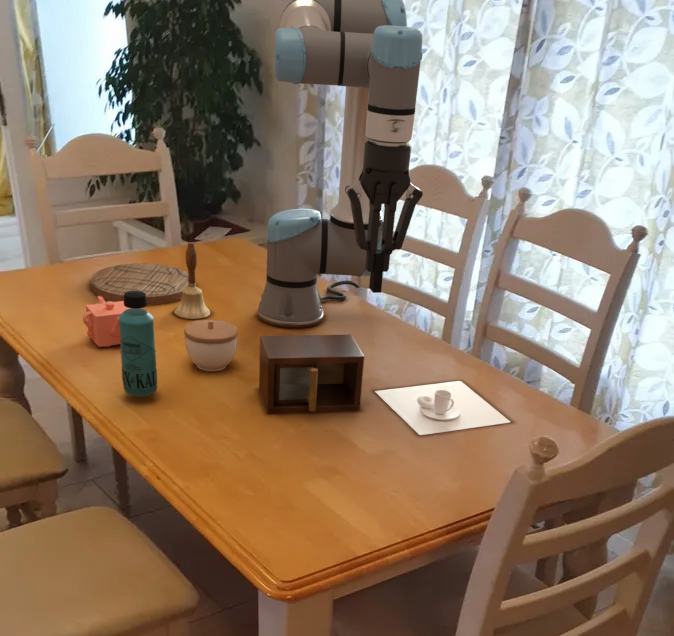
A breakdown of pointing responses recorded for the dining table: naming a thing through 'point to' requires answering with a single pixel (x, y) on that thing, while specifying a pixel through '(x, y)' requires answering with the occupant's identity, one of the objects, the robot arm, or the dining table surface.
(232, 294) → the dining table surface
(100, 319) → the teapot
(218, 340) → the trinket box
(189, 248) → the hand bell
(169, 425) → the dining table surface
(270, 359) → the cabinet
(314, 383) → the door
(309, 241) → the robot arm
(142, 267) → the trivet
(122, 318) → the beverage bottle
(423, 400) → the teacup and saucer
